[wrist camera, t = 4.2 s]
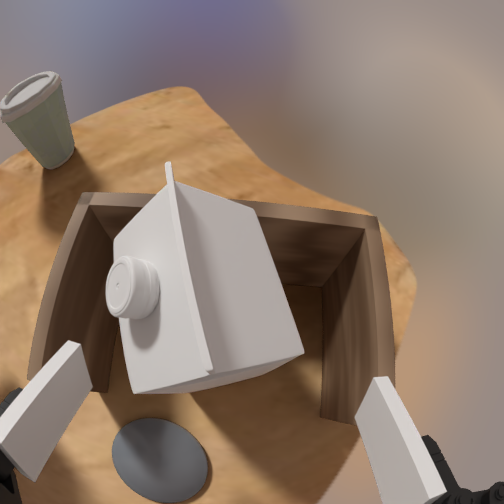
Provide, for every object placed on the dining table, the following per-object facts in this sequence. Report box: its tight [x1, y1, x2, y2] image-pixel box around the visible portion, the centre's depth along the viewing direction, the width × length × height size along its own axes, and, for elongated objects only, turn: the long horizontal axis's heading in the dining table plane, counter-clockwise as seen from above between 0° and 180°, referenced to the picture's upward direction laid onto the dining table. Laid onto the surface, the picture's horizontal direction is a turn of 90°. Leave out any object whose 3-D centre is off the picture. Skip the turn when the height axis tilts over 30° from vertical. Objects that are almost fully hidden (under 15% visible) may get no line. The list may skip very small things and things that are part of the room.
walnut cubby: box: [27, 192, 395, 426], centre depth 20 cm, size 22×14×11 cm, turn 86°
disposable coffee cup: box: [0, 71, 74, 169], centre depth 29 cm, size 11×11×15 cm
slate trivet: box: [112, 418, 208, 503], centre depth 18 cm, size 9×9×1 cm
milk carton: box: [106, 161, 304, 394], centre depth 16 cm, size 7×7×19 cm
